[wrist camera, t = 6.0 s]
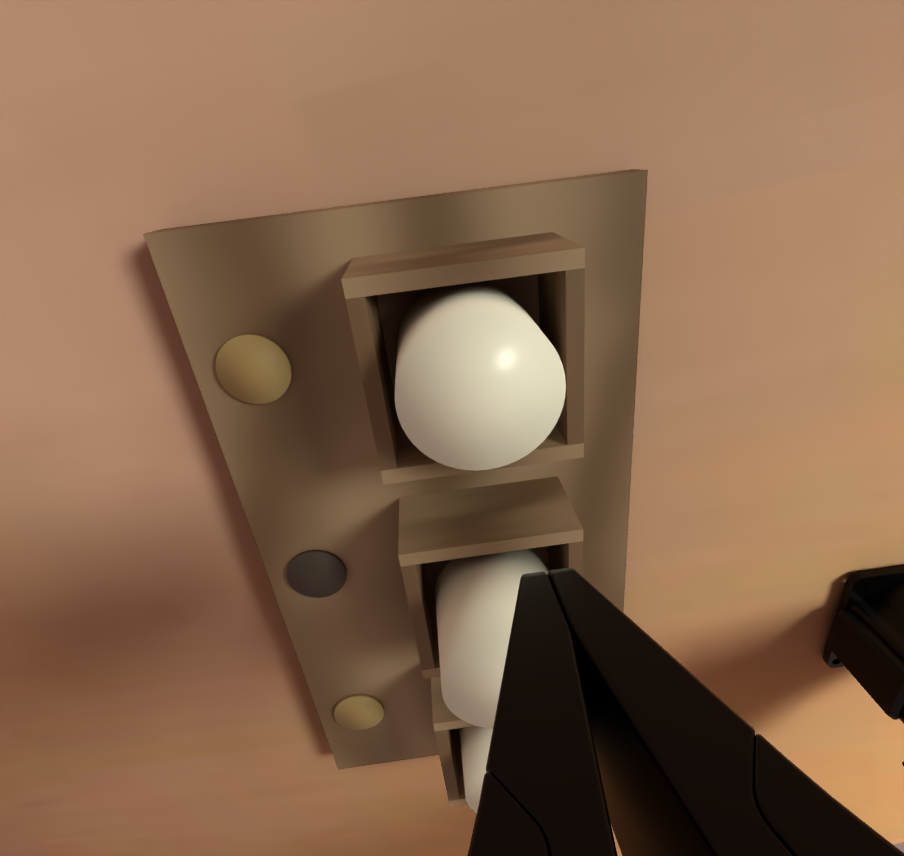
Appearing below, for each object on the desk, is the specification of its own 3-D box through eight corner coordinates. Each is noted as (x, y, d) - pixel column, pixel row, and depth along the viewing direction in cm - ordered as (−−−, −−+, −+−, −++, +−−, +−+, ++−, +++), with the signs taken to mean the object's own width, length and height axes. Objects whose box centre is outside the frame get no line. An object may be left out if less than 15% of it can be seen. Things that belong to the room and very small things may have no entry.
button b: (550, 535, 19) (583, 623, 15) (552, 622, 21) (582, 718, 17) (427, 552, 19) (432, 644, 15) (442, 638, 21) (450, 737, 17)
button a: (546, 665, 24) (569, 751, 21) (548, 724, 26) (570, 812, 23) (452, 678, 24) (460, 768, 21) (461, 736, 26) (470, 827, 23)
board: (632, 169, 17) (703, 172, 13) (609, 707, 29) (641, 794, 25) (160, 229, 16) (80, 251, 12) (340, 746, 29) (330, 841, 25)
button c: (529, 269, 16) (565, 300, 12) (535, 400, 18) (566, 458, 14) (386, 288, 16) (380, 324, 12) (408, 417, 18) (408, 480, 14)
